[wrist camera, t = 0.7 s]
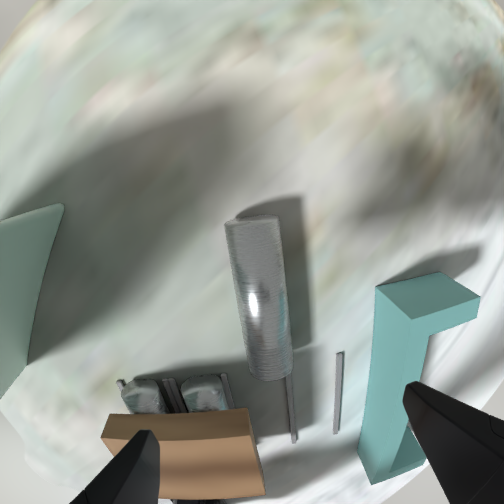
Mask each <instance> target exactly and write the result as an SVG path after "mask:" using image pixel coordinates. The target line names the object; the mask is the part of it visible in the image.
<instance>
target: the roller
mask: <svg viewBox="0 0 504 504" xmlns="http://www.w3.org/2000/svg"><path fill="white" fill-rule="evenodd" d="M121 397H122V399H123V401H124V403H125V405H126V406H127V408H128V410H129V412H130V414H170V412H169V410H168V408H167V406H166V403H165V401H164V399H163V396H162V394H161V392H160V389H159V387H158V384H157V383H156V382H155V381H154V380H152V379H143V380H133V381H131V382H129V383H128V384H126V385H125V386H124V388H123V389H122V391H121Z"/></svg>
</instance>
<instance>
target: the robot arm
mask: <svg viewBox="0 0 504 504" xmlns="http://www.w3.org/2000/svg"><path fill="white" fill-rule="evenodd" d="M402 402H403V406H404V408H405V411H406V413H407V416H408V418H409V421H410V424H411V426H412V429H413V431H414V434H415V436H416V438H417V440H418V442H419V444H420V446H421V448H422V450H423V452H424V453H425V455H426V457H427V459H428V461H429V463H430V465H431V467H432V469H433V471H434V473H435V475H436V477H437V479H438V481H439V483H440V485H441V487H442V489H443V490H444V493H445V495H446V497H447V499H448V500H449V503H450V504H504V420H501V419H499V418H496V417H494V416H491V415H488V414H487V413H485V412H483V411H480V410H478V409H476V408H474V407H472V406H469V405H467V404H465V403H463V402H461V401H458V400H456V399H454V398H452V397H450V396H448V395H446V394H444V393H441V392H439V391H437V390H435V389H433V388H431V387H429V386H427V385H425V384H423V383H421V382H418V381H413V382H411V383H408V384H407V385H406V386H405V390H404V395H403V399H402ZM159 489H160V444H159V442H158V440H157V439H156V437H155V435H154V433H153V432H152V430H150V429H140V430H139V431H138V432H137V433H136V434H135V435H134V436H133V437H132V438H131V439H130V440H129V441H128V443H127V444H126V445H125V446H124V447H123V448H122V449H121V450H120V451H119V452H118V453H117V455H116V456H115V457H114V458H113V459H112V460H111V461H110V462H109V463H108V464H107V465H106V466H105V467H104V469H103V470H102V471H101V472H100V473H99V474H98V475H97V476H96V477H95V478H94V479H93V480H92V481H91V482H90V483H89V484H88V485H87V486H86V488H85V490H83V491H82V492H81V493H80V494H79V495H78V496H77V497H76V498H75V499H74V500H73V501H72V502H70V503H69V504H158V497H159ZM170 500H171V501H172V502H173V504H226V503H225V501H224V499H200V500H189V499H170Z"/></svg>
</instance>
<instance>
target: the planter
mask: <svg viewBox="0 0 504 504" xmlns="http://www.w3.org/2000/svg"><path fill="white" fill-rule="evenodd" d="M64 209H65V208H64V205H63V204H60V203H57V204H53V205H50V206H46V207H43V208H39V209H36V210H33V211H30V212H27V213H23V214H20V215H17V216H14V217H11V218H8V219H5V220H2V221H0V399H1V398H2V396H3V395H4V394H5V392H6V391H7V390H8V389H9V387H10V386H11V385H12V383H13V382H14V381H15V380H16V378H17V377H18V376H19V375H20V373H21V372H22V371H23V370H24V368H25V367H26V365H27V358H28V351H29V344H30V337H31V332H32V326H33V321H34V316H35V311H36V306H37V301H38V297H39V293H40V288H41V284H42V280H43V276H44V273H45V269H46V265H47V262H48V258H49V255H50V252H51V248H52V245H53V242H54V239H55V236H56V233H57V230H58V227H59V224H60V221H61V218H62V216H63V213H64Z"/></svg>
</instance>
